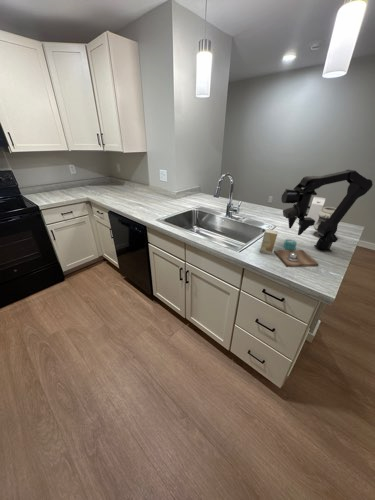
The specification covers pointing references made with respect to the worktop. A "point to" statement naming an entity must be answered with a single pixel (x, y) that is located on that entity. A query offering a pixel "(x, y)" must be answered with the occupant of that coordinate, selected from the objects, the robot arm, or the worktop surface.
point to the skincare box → (268, 241)
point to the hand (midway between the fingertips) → (294, 231)
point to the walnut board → (301, 255)
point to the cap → (290, 244)
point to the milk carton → (316, 208)
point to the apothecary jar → (323, 217)
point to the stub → (292, 257)
